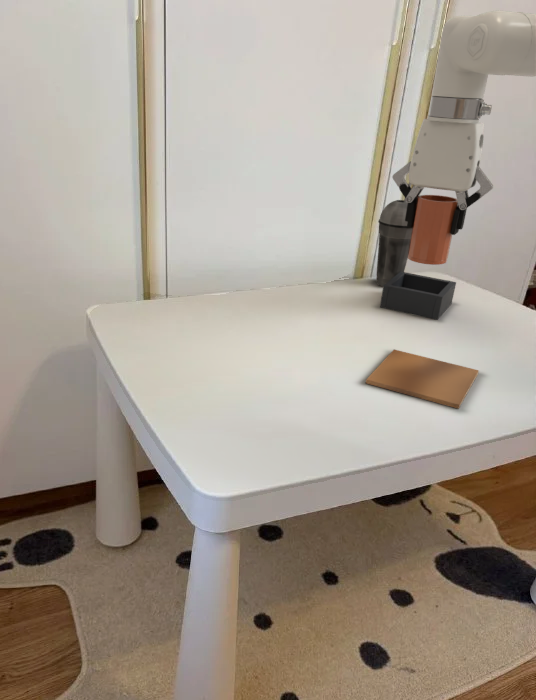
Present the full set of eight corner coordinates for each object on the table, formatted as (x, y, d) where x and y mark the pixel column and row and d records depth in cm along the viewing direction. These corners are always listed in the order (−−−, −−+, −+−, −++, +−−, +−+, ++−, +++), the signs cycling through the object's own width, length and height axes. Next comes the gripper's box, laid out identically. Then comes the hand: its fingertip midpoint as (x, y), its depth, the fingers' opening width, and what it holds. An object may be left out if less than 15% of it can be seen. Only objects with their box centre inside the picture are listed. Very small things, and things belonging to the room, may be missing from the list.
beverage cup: (362, 278, 123) (378, 171, 114) (396, 277, 125) (415, 171, 116) (378, 290, 117) (397, 177, 108) (414, 289, 119) (435, 178, 110)
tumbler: (450, 258, 108) (462, 198, 103) (441, 266, 103) (453, 203, 98) (413, 252, 110) (423, 193, 106) (402, 260, 106) (413, 198, 101)
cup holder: (451, 303, 113) (456, 282, 111) (437, 320, 105) (442, 297, 103) (397, 292, 117) (400, 271, 115) (379, 307, 109) (383, 284, 107)
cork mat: (478, 374, 87) (479, 370, 86) (458, 409, 77) (459, 404, 77) (393, 352, 92) (393, 349, 91) (365, 383, 82) (366, 379, 82)
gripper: (518, 114, 95) (490, 234, 104) (405, 106, 103) (388, 219, 111) (510, 116, 90) (482, 242, 98) (391, 107, 97) (374, 226, 105)
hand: (432, 229), depth 104 cm, fingers closed on tumbler, 6 cm apart
